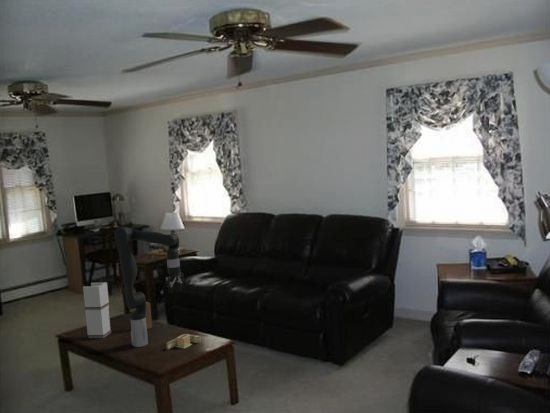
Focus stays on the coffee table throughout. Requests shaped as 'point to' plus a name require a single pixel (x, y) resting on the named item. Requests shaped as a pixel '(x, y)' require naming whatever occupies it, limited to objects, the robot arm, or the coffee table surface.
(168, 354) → the coffee table surface
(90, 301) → the stacked white cabinet
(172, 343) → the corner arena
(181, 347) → the pad
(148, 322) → the wooden block
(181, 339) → the ochre cube
